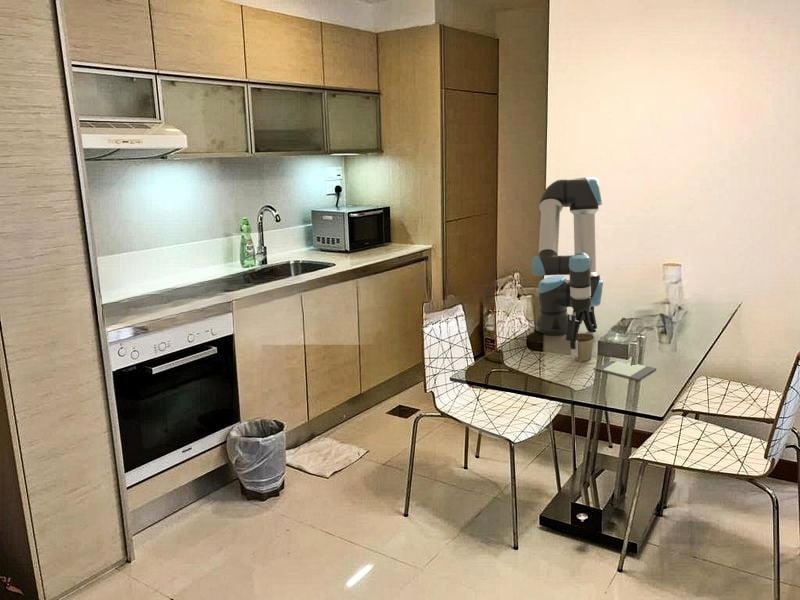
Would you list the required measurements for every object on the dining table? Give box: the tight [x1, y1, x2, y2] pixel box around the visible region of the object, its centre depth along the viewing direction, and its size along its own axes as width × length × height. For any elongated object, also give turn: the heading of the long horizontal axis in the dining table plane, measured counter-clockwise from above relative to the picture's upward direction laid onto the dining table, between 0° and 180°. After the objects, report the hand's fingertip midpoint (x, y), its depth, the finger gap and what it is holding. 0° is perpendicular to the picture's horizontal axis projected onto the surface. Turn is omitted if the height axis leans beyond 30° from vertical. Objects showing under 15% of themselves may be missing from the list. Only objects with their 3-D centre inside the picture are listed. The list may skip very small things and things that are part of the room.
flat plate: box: [593, 361, 657, 381], centre depth 242 cm, size 12×18×1 cm, turn 40°
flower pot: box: [573, 332, 596, 362], centre depth 254 cm, size 9×9×9 cm
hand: (582, 352), depth 255 cm, fingers closed on flower pot, 9 cm apart
